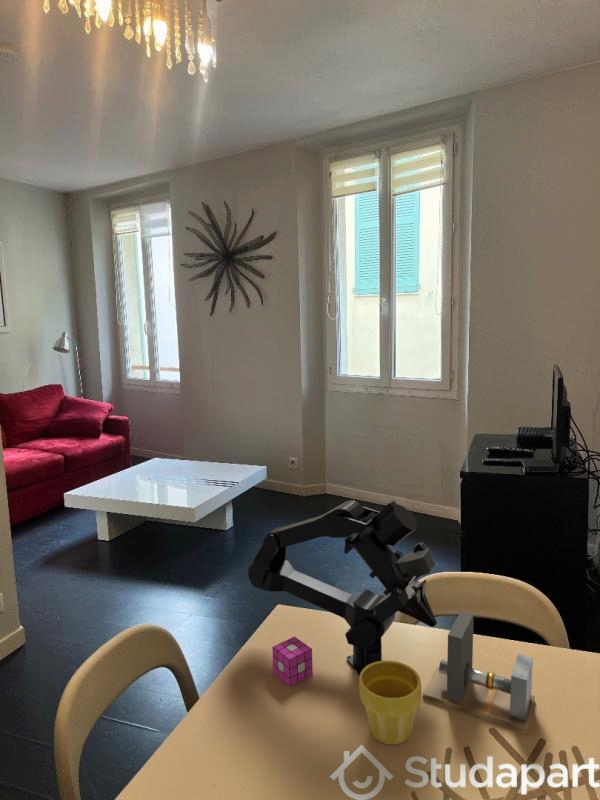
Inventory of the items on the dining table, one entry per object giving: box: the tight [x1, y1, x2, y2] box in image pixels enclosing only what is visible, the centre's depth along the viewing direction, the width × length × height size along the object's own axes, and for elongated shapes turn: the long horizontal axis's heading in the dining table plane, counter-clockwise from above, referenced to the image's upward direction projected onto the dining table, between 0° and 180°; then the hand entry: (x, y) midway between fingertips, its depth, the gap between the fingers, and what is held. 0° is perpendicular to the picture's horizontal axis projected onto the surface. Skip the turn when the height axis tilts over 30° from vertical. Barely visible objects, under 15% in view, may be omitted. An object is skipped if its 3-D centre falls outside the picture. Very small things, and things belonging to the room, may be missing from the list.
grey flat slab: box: [446, 611, 475, 703], centre depth 102 cm, size 2×9×12 cm, turn 150°
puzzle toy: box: [271, 636, 313, 688], centre depth 110 cm, size 6×6×6 cm
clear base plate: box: [422, 666, 536, 734], centre depth 101 cm, size 18×9×1 cm, turn 60°
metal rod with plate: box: [438, 653, 534, 723], centre depth 100 cm, size 16×7×8 cm, turn 60°
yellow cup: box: [358, 660, 422, 746], centre depth 94 cm, size 10×10×10 cm
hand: (434, 625), depth 104 cm, fingers closed
